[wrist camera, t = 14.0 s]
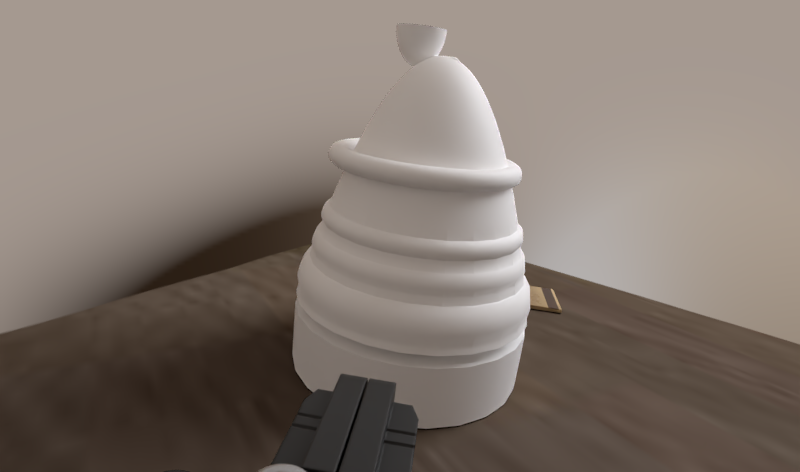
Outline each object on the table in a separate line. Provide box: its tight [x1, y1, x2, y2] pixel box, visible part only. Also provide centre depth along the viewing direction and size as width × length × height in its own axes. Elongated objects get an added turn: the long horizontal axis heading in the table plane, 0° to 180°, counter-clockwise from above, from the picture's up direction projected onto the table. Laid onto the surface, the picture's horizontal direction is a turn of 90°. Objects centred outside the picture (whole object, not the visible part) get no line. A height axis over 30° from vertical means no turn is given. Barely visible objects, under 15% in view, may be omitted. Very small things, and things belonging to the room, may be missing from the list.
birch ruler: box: [530, 286, 561, 313], centre depth 41 cm, size 18×4×1 cm, turn 83°
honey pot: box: [292, 23, 530, 429], centre depth 27 cm, size 13×13×18 cm
